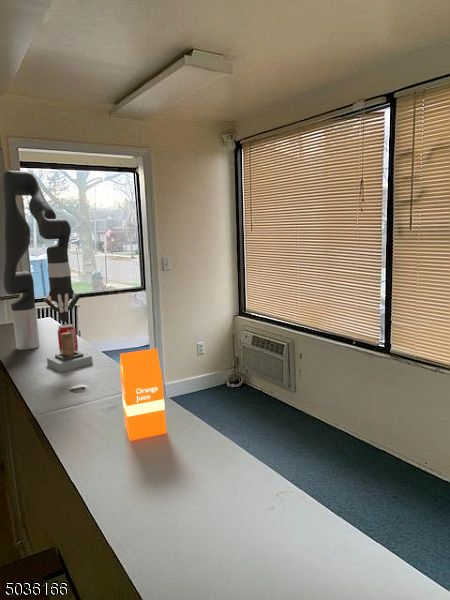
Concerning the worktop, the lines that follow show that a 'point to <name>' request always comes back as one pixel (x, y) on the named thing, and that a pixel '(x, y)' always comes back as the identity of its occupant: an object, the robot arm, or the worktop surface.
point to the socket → (69, 361)
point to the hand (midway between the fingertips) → (64, 321)
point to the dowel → (67, 344)
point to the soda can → (65, 329)
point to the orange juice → (142, 394)
